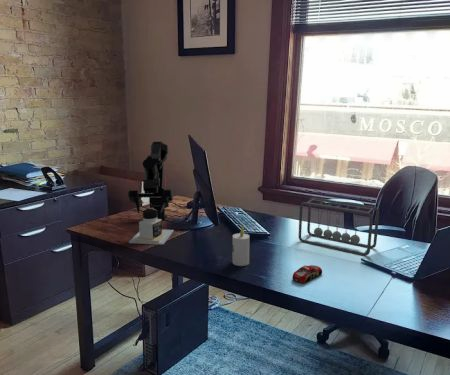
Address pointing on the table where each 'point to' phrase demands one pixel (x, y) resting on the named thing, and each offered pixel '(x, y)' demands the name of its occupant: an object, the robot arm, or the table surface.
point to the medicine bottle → (150, 225)
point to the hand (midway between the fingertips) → (149, 212)
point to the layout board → (158, 240)
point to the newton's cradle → (337, 235)
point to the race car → (307, 273)
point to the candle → (241, 248)
